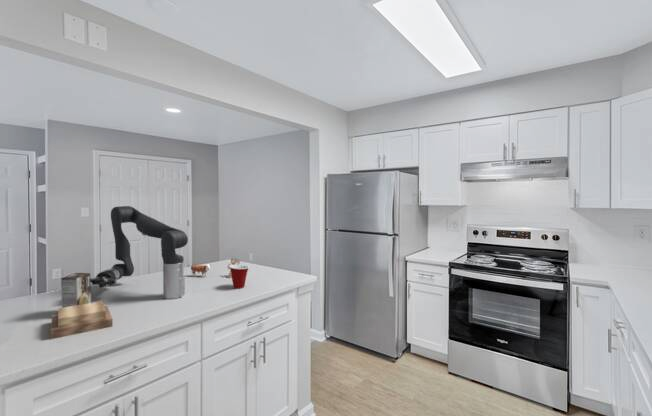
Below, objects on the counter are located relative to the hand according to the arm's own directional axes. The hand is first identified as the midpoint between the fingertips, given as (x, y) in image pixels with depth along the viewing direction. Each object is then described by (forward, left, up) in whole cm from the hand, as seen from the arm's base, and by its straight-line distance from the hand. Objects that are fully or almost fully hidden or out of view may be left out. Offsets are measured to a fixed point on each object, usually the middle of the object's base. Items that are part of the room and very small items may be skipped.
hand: (90, 285), depth 147 cm
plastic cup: (-65, -21, -9) cm, 69 cm away
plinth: (-10, +25, -9) cm, 29 cm away
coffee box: (0, +10, -9) cm, 14 cm away
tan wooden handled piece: (-59, -46, -9) cm, 75 cm away
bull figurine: (-39, -48, -9) cm, 62 cm away
